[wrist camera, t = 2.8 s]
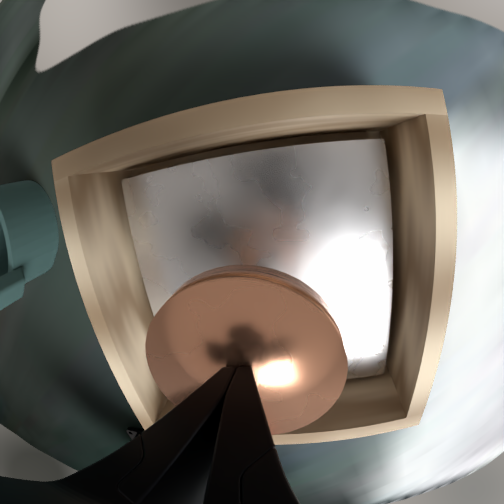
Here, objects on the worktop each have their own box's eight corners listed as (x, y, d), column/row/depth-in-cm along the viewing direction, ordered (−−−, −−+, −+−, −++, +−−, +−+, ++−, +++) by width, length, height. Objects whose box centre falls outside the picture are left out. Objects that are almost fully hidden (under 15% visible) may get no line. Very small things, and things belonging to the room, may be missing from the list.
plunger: (380, 363, 15) (411, 458, 8) (183, 374, 17) (139, 459, 10) (377, 140, 12) (460, 118, 5) (130, 178, 14) (25, 196, 7)
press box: (392, 359, 17) (418, 424, 11) (178, 373, 20) (146, 432, 14) (388, 115, 13) (441, 89, 7) (123, 158, 16) (51, 160, 10)
